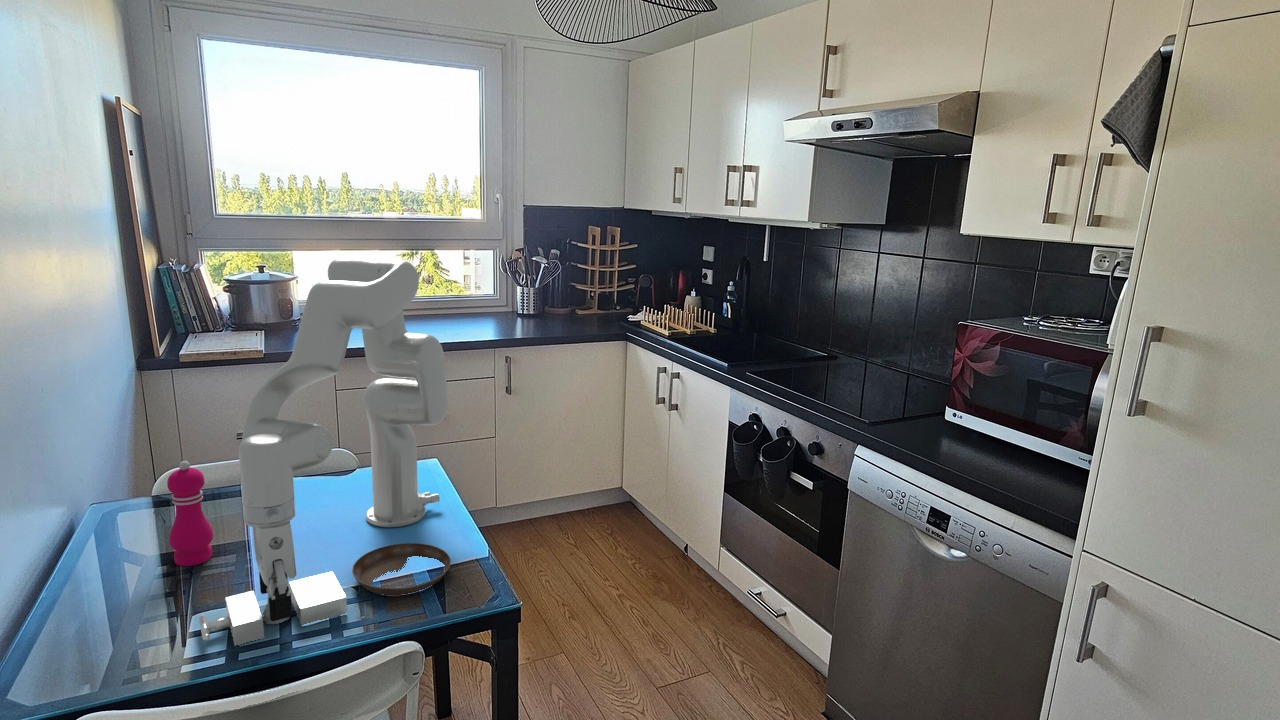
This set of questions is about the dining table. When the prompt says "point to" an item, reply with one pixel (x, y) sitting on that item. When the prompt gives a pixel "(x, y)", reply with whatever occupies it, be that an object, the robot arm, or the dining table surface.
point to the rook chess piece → (266, 610)
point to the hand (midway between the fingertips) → (276, 604)
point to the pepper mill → (189, 517)
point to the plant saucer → (395, 565)
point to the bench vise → (307, 596)
